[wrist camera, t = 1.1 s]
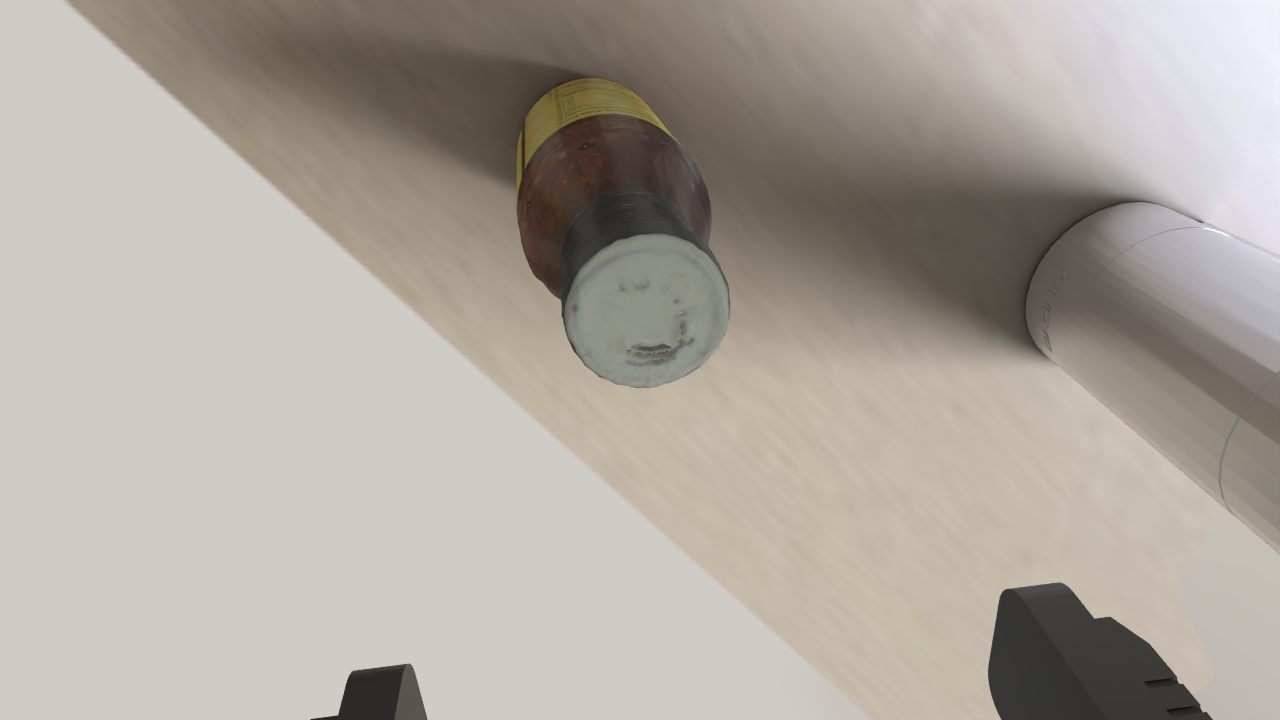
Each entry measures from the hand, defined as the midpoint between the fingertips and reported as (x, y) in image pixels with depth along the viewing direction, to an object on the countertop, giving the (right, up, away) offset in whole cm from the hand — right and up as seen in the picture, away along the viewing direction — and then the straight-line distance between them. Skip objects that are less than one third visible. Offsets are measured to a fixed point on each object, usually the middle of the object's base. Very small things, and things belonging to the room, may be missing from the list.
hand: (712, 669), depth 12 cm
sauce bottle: (-3, +14, +26) cm, 30 cm away
